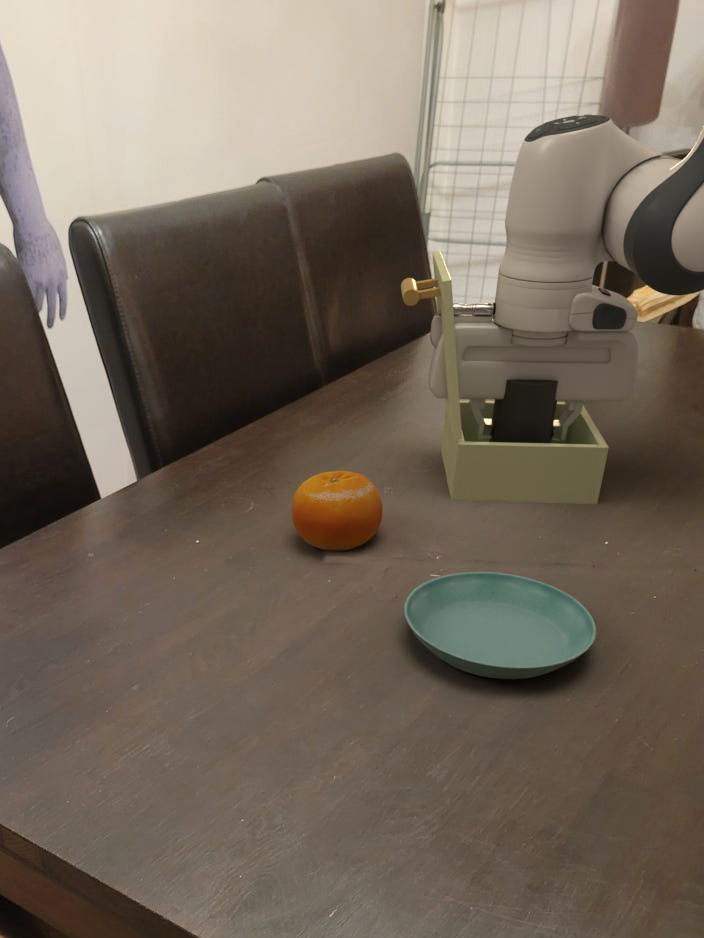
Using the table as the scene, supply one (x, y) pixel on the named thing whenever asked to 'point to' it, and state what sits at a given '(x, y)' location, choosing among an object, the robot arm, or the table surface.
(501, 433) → the black cup
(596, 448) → the chest
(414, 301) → the chest lid
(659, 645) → the table surface
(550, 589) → the saucer
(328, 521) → the fruit
